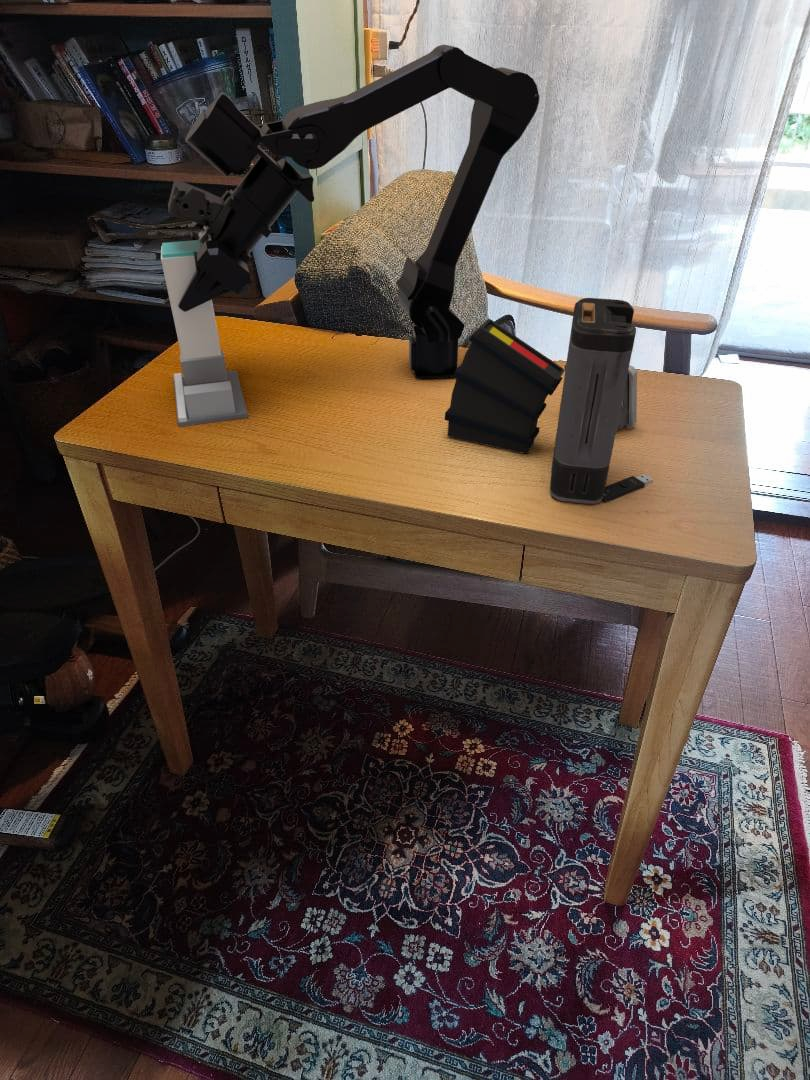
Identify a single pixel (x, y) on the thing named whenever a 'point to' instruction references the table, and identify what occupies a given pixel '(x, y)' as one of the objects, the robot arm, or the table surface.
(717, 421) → the table surface
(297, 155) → the robot arm
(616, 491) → the usb flash drive
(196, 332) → the block
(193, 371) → the rail board
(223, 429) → the table surface
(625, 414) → the electrical switch
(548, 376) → the magazine
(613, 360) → the electronic device
